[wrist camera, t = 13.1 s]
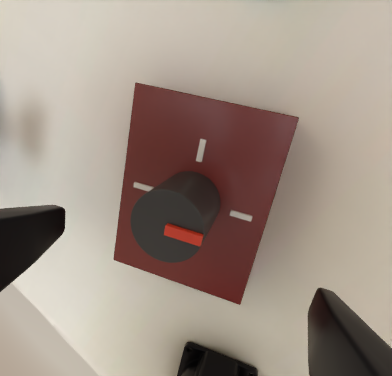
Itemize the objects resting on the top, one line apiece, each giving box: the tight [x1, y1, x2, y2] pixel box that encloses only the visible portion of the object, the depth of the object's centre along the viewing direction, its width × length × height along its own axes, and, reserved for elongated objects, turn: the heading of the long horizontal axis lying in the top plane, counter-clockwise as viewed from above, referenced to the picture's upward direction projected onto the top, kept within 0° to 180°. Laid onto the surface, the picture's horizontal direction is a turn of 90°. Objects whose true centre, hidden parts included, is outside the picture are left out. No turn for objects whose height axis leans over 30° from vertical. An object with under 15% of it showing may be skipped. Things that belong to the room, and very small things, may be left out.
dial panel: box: [114, 83, 299, 305], centre depth 19 cm, size 13×10×3 cm
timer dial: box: [130, 171, 220, 263], centre depth 16 cm, size 4×4×5 cm
